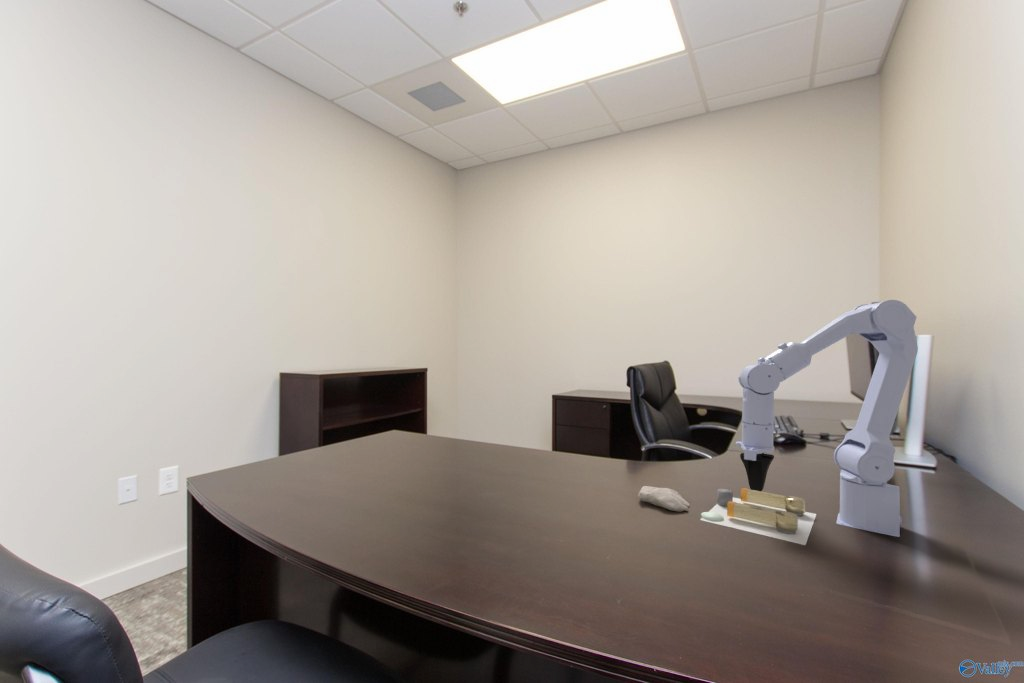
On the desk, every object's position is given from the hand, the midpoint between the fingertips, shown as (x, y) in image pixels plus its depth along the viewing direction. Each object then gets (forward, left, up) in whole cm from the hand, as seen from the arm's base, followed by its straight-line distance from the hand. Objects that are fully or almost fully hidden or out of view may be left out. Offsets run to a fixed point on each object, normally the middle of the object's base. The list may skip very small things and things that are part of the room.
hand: (756, 489), depth 93 cm
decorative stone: (+18, +5, -6) cm, 19 cm away
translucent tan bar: (-2, +6, -4) cm, 8 cm away
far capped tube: (-2, -6, -4) cm, 8 cm away
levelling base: (-1, +1, -6) cm, 6 cm away
